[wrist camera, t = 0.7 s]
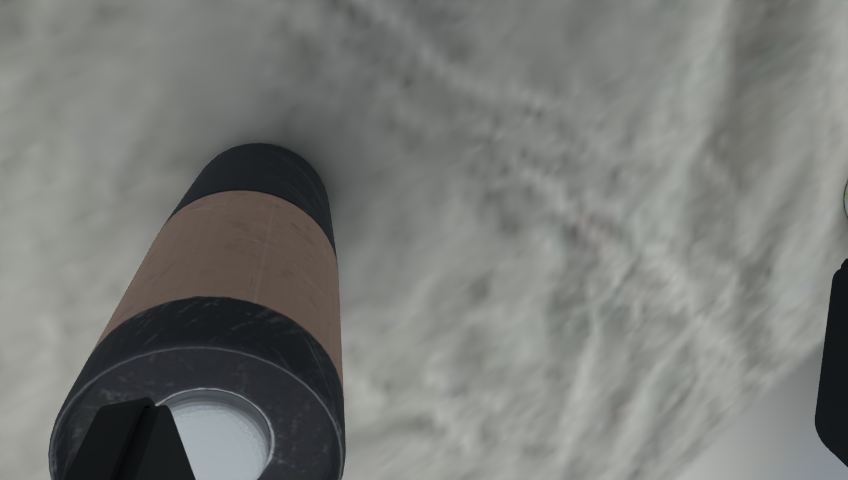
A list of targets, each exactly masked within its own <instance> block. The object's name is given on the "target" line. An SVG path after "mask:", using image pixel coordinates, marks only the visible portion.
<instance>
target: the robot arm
mask: <svg viewBox="0 0 848 480" xmlns="http://www.w3.org/2000/svg"><path fill="white" fill-rule="evenodd" d="M815 426H816V430H817V433H818V435H819V437H820V439H821V441H822V442H823V443H824V445H825V446H826V447H827V448H829V450H830V451H831V452H832V453H833V454H835V455H836V456H837V457H838V458H839V459H840V460H841V461H842V462H843V463H844V464H845V465H846V466H847V467H848V258H847V259H845V261H844V262H843V264H842V265H841V269H839V270H837V271H836V273H835V274H834V276H833V280H832V287H831V295H830V303H829V311H828V318H827V326H826V334H825V342H824V350H823V359H822V366H821V374H820V382H819V390H818V398H817V406H816V414H815ZM64 480H196V479H195V476H194V473H193V471H192V468H191V465H190V462H189V459H188V457H187V454H186V451H185V448H184V446H183V443H182V440H181V437H180V435H179V432H178V429H177V426H176V424H175V421H174V418H173V415H172V413H171V411H170V409H169V407H168V406H167V405H160V406H156V405H155V403H154V402H153V401H152V399H151V398H149V397H143V398H138V399H133V400H128V401H123V402H118V403H113V404H108V405H104V406H102V407H100V409H99V410H98V411H97V413H96V415H95V417H94V419H93V421H92V423H91V425H90V428H89V430H88V432H87V434H86V436H85V438H84V440H83V442H82V444H81V446H80V448H79V450H78V452H77V454H76V456H75V458H74V460H73V462H72V464H71V466H70V468H69V470H68V472H67V474H66V476H65V478H64Z"/></svg>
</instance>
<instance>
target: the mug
mask: <svg viewBox="0 0 848 480" xmlns="http://www.w3.org/2000/svg"><path fill="white" fill-rule="evenodd" d="M844 204H845V210H846V213H847V215H848V183H847V187H846V191H845V197H844Z"/></svg>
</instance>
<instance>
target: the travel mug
mask: <svg viewBox="0 0 848 480" xmlns="http://www.w3.org/2000/svg"><path fill="white" fill-rule="evenodd" d="M143 397H149V398H151V399H152V401H153V402H154V403H155V405H156V406H160V405H167V406H168V407H169V409H170V411H171V413H172V415H173V418H174V421H175V424H176V426H177V429H178V432H179V435H180V437H181V440H182V443H183V446H184V448H185V451H186V454H187V457H188V459H189V462H190V465H191V468H192V471H193V473H194V476H195V479H196V480H341V479H342V476H343V471H344V463H345V454H346V447H345V420H344V397H343V373H342V349H341V325H340V302H339V278H338V264H337V257H336V250H335V243H334V236H333V228H332V221H331V214H330V208H329V202H328V197H327V194H326V191H325V188H324V185H323V183H322V181H321V179H320V178H319V176H318V174H317V173H316V172H315V170H314V169H313V168H312V167H311V166H310V165H309V164H308V163H307V162H306V161H305V160H304V159H302V158H301V157H299V156H298V155H296V154H294V153H293V152H291V151H289V150H286V149H284V148H281V147H278V146H273V145H268V144H248V145H242V146H238V147H235V148H232V149H230V150H227V151H225V152H223V153H222V154H220V155H218V156H217V157H216V158H215V159H213V160H212V161H211V162H210V163H209V164H208V165H207V166H206V167H205V168H204V169H203V171H202V172H201V173H200V175H199V176H198V177H197V179H196V180H195V182H194V183H193V184H192V186H191V187H190V189H189V190H188V192H187V193H186V194H185V196H184V197H183V199H182V200H181V202H180V203H179V204H178V206H177V207H176V209H175V210H174V212H173V213H172V214H171V216H170V217H169V219H168V220H167V222H166V223H165V224H164V226H163V227H162V229H161V230H160V232H159V233H158V235H157V237H156V239H155V240H154V242H153V244H152V246H151V248H150V249H149V251H148V253H147V255H146V256H145V258H144V260H143V262H142V264H141V265H140V267H139V269H138V271H137V273H136V274H135V276H134V278H133V280H132V282H131V283H130V285H129V287H128V289H127V290H126V292H125V294H124V296H123V298H122V299H121V301H120V303H119V305H118V307H117V308H116V310H115V312H114V314H113V315H112V317H111V319H110V321H109V323H108V324H107V326H106V328H105V330H104V332H103V333H102V335H101V337H100V339H99V341H98V342H97V344H96V346H95V348H94V349H93V351H92V353H91V355H90V357H89V358H88V360H87V362H86V364H85V366H84V367H83V369H82V371H81V373H80V374H79V376H78V378H77V380H76V382H75V383H74V385H73V387H72V389H71V390H70V392H69V394H68V396H67V398H66V400H65V402H64V404H63V405H62V407H61V409H60V411H59V414H58V416H57V418H56V421H55V424H54V427H53V431H52V434H51V438H50V445H49V454H48V455H49V470H50V475H51V479H52V480H64V478H65V476H66V474H67V472H68V470H69V468H70V466H71V464H72V462H73V460H74V458H75V456H76V454H77V452H78V450H79V448H80V446H81V444H82V442H83V440H84V438H85V436H86V434H87V432H88V430H89V428H90V425H91V423H92V421H93V419H94V417H95V415H96V413H97V411H98V410H99V409H100V407H102V406H104V405H108V404H113V403H118V402H123V401H128V400H133V399H138V398H143Z"/></svg>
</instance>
